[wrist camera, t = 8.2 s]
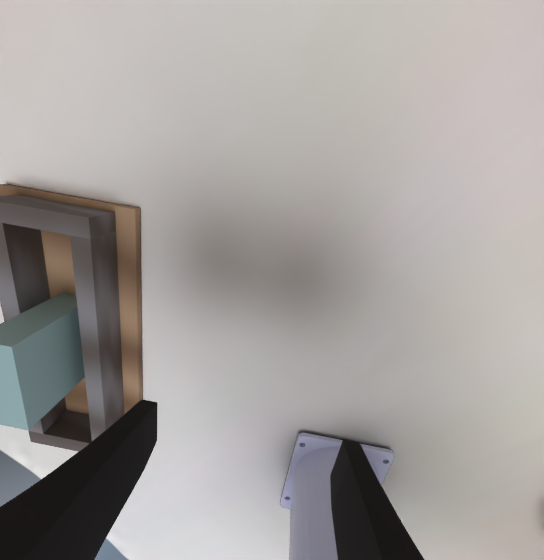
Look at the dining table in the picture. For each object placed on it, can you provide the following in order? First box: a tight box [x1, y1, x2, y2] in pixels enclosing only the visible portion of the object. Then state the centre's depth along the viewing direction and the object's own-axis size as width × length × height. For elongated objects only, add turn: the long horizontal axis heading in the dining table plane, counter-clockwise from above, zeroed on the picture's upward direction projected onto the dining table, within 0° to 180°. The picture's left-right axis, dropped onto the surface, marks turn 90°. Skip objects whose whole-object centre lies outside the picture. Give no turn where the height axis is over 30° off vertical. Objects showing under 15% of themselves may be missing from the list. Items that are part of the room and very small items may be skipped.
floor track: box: [0, 184, 143, 451], centre depth 20 cm, size 20×9×3 cm, turn 171°
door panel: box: [0, 293, 85, 430], centre depth 18 cm, size 6×2×6 cm, turn 170°
